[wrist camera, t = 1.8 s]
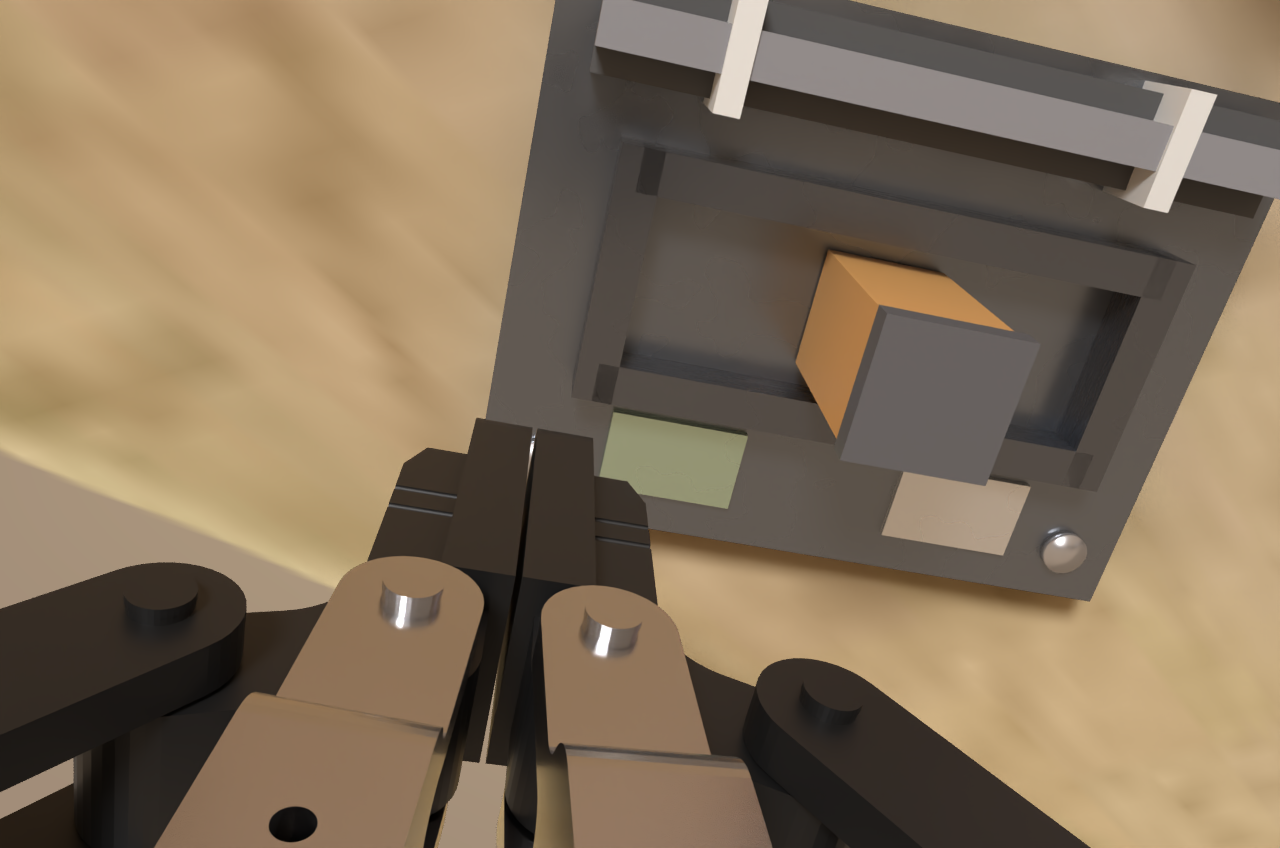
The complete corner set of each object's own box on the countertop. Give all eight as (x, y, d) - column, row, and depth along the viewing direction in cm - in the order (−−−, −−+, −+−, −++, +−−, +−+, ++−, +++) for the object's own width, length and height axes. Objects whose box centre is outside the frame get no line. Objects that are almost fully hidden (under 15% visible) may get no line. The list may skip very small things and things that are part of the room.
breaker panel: (1275, 104, 25) (1348, 117, 23) (1067, 573, 31) (1109, 625, 28) (568, -64, 23) (565, -70, 21) (478, 474, 28) (467, 521, 26)
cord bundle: (1272, 110, 24) (1329, 120, 22) (1225, 218, 25) (1275, 236, 23) (610, -46, 22) (611, -49, 20) (587, 77, 23) (587, 85, 21)
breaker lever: (948, 269, 25) (1040, 343, 20) (908, 387, 26) (985, 486, 21) (825, 244, 25) (887, 313, 19) (790, 365, 26) (839, 460, 21)
